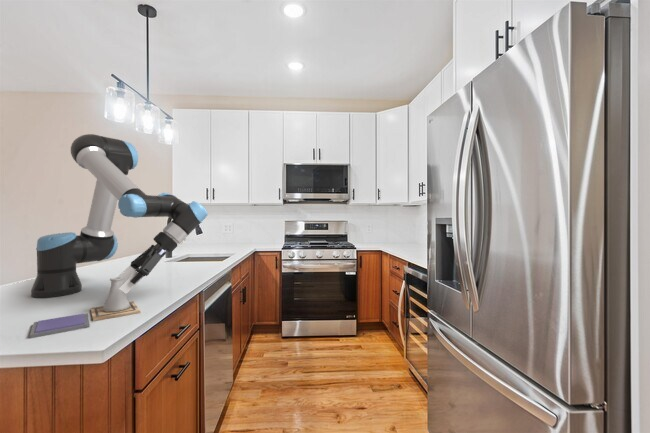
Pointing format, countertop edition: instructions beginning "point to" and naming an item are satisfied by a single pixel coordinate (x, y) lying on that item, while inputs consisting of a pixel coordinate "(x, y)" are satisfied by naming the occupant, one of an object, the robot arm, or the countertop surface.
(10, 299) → the countertop surface
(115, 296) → the flask
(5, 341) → the countertop surface
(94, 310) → the marked board
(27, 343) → the countertop surface
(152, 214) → the robot arm
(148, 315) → the countertop surface
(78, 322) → the ink pad
